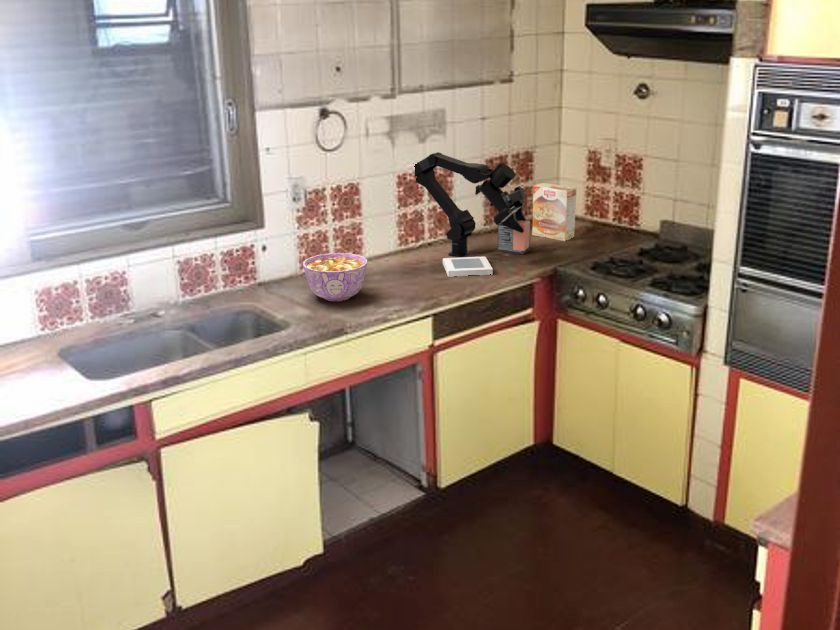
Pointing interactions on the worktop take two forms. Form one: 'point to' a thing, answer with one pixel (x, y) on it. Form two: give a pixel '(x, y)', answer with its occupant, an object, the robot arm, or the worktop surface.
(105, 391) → the worktop surface
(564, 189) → the coffeecake box
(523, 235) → the slim brick
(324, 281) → the bowl of food
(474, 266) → the base plate
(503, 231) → the small box
